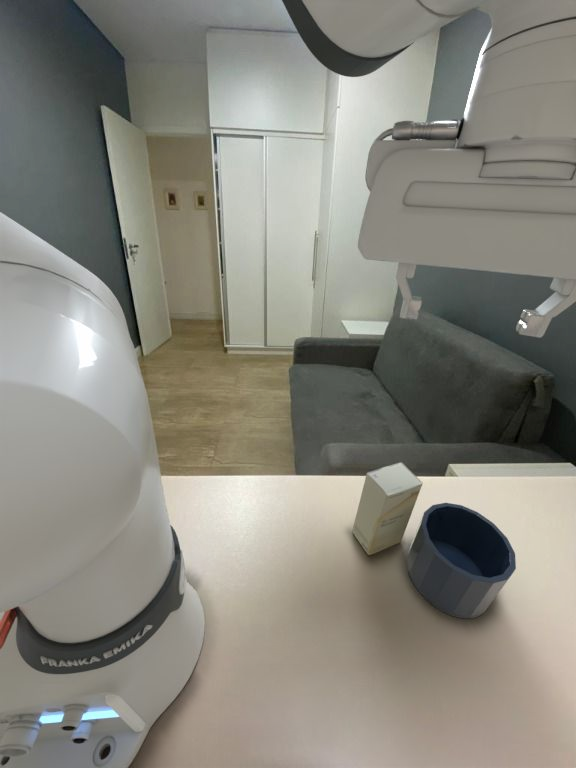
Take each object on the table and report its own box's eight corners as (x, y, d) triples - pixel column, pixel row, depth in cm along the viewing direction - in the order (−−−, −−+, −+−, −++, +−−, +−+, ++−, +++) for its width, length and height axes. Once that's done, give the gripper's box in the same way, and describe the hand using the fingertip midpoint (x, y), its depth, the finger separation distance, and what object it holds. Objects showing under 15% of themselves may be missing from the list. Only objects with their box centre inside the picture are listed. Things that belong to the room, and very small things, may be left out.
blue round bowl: (438, 628, 36) (461, 591, 32) (392, 546, 45) (405, 509, 41) (509, 607, 39) (538, 571, 35) (452, 533, 47) (470, 497, 44)
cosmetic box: (368, 557, 43) (386, 497, 37) (350, 530, 47) (364, 472, 41) (402, 541, 46) (425, 483, 40) (383, 517, 49) (401, 460, 43)
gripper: (369, 108, 20) (339, 317, 27) (804, 97, 15) (630, 360, 21) (376, 131, 25) (350, 301, 32) (698, 129, 20) (586, 332, 27)
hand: (465, 325), depth 27 cm, fingers open, 8 cm apart
